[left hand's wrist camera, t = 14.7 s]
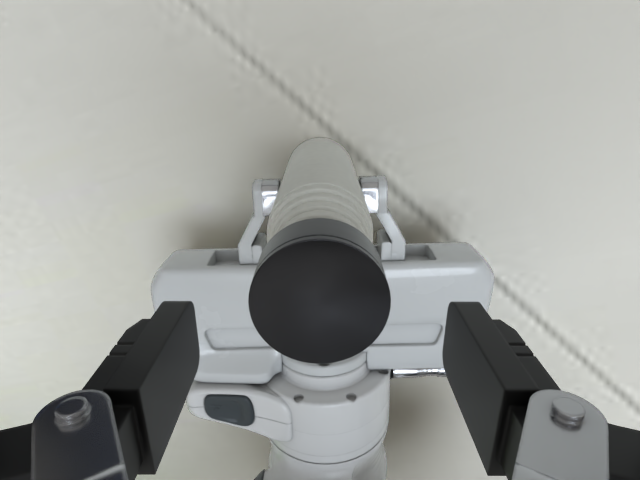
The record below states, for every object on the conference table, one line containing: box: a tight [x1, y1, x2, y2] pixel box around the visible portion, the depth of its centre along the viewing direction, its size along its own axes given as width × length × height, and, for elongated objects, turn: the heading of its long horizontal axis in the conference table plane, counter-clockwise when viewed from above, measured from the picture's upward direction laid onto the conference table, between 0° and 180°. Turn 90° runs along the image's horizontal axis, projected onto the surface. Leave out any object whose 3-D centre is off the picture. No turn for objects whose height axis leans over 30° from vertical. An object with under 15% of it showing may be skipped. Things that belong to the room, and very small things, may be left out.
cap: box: [248, 218, 391, 364], centre depth 14 cm, size 4×4×2 cm
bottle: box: [267, 137, 373, 244], centre depth 22 cm, size 5×5×18 cm
